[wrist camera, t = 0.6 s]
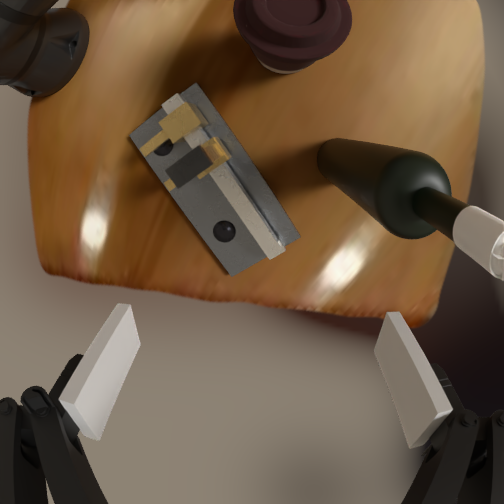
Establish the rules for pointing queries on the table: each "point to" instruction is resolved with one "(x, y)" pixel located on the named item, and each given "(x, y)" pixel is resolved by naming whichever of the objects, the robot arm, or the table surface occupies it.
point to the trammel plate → (211, 195)
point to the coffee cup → (292, 30)
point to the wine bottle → (412, 197)
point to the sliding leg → (197, 163)
